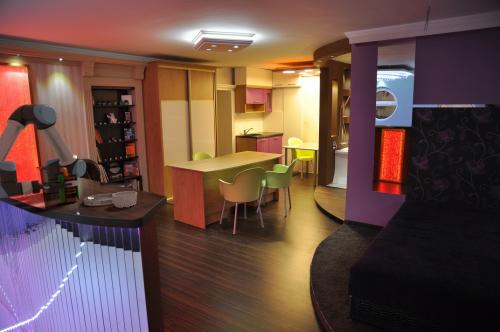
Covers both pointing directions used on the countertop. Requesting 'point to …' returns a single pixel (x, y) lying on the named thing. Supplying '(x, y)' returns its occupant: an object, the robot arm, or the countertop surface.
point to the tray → (98, 200)
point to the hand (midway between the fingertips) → (76, 182)
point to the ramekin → (124, 199)
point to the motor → (69, 192)
